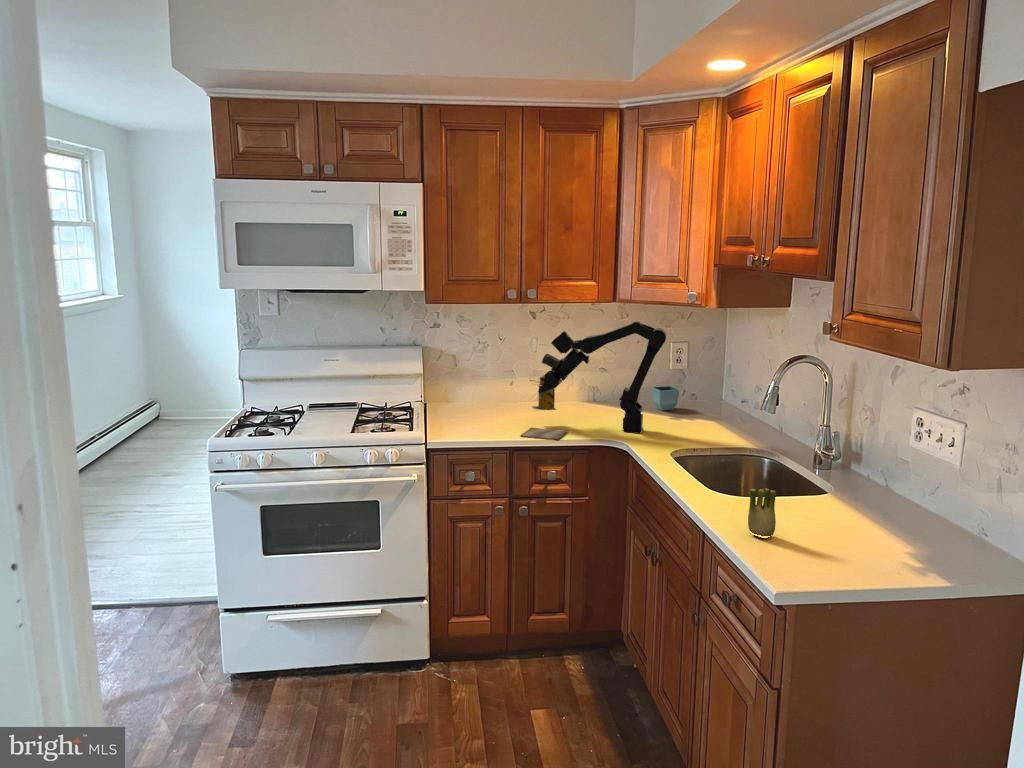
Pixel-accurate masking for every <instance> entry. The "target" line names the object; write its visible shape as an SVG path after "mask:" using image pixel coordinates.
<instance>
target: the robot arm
mask: <svg viewBox="0 0 1024 768" xmlns="http://www.w3.org/2000/svg"><path fill="white" fill-rule="evenodd" d="M634 334H636V335H639V336H640V337H642V338H644V339H646V340H648V342H647V346H646V350H645V353H644V356H643V358H642V360H641V362H640V365H639V367H638V369H637V370H636V373H635V376H634V378H633V380H632V383H631V385H630V386H629V387H626V386H625V387H624V388H623V391H622V395H620V397H619V406H620V408H621V410H623V412H624V417H623V418H622V432H623V431H628V432H627V433H632V432H638V433H637V434H641V433H642V432H643V431H644V428H643V427H644V425H643V423H644V422H643V421H644V420H643V419H644V414H643V413H642V411H643V410H644V409H643V406H642V405H641V404H640V403H639V402H638V400H639V396H640V391H641V388H642V387H643V384H644V381H645V379H646V377H647V376H648V375H647V374H648V373H649V370H650V368H651V366H652V363H653V362H654V360H655V357H656V355H657V354H658V352H659V351H660V350H661V348H662V347H663V345H664V344H665V343H666V340H667V337H668V336H667V332H666V331H665V329H663V328H660V327H657V328H655V327H652V326H650V325H648V324H644V323H642V322H641V321H637V320H636V321H633V322H632V323H629V324H627V325H624V326H621V327H619V328H615V329H613V330H611V331H610V330H609V331H607V332H605V333H600V334H594V335H589V336H585V337H584V338H583V339H578V340H573V338H572V337H571V336H569V334H568V332H566V331H565V330H563V331H562V332H561V333H560V334H559V335H557V336H556V337H555V338H554V339H553V340H552V341H551V343H550V344H551V345H552V346H553V347H554V348H555V349H556V350H557V352H558V353H560V354H564V355H565V356H564V357H563V358H560V359H559V358H557V357H555V356H553V355H551V354H549V353H545V354H544V356H543V358H542V360H541V363H542V364H543V365H546V366H548V367H550V370H549V371H547V372H545V374H543V376H544V377H545V381H544V383H543V384H542V386H541V387H540V389H539V388H538V389H537V392H538V394H539V393H542V392H545V391H547V390H550V389H553V388H555V389H556V388H557V387H558V386H560V384H561V383H563V381H565V380H566V379H568V376H569V375H570V374H571V373H572V372H573V371H575V370H576V368H577V367H579V366H580V365H581V364H582V363H583V362H584V363H585V364H587V365H588V364H589V363H590V355H589V354H592V353H594V352H595V351H597V350H599V349H600V348H602V347H604V346H605V345H607V344H610V343H612V342H615V341H618V340H621V339H623V338H626V337H629V336H632V335H634ZM570 350H571V351H570ZM579 350H580V351H579ZM569 351H570V352H569ZM568 352H569V353H568ZM642 430H643V431H642ZM641 431H642V432H641ZM640 432H641V433H640Z"/></svg>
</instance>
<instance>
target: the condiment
mask: <svg viewBox="0 0 1024 768" xmlns="http://www.w3.org/2000/svg"><path fill="white" fill-rule="evenodd" d="M544 381H545V377H544V375H543V376H540V377H539V384H538V390H539V389H540V387H541V386H542V384H543V383H544ZM555 390H556V388H553V389H550V390H547V391H545V392H542V393H539V392H538V405H537V406H536V405H531V408H532V410H534V411H557V410H558V409H557V408H556V407H555Z"/></svg>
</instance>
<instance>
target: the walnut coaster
mask: <svg viewBox="0 0 1024 768" xmlns="http://www.w3.org/2000/svg"><path fill="white" fill-rule="evenodd" d="M566 434H568V430H562V429H552V428H541V427H530V428H528V429H527V430H526V431H524V432H522V433H521V434H519V435H520V436H519V437H520V438H529V439H530V438H531V439H532V438H533V439H540V440H552V441H559V440H561V439H562V438H563V436H565V435H566Z"/></svg>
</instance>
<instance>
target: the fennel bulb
mask: <svg viewBox="0 0 1024 768" xmlns="http://www.w3.org/2000/svg"><path fill="white" fill-rule="evenodd" d="M756 491H757V490H756V489H755V488H751V489H750V491H749V496H750V497H749V506H748V507H749V508H748V514H747V515H748V516H747V526H748V530H749V532H750V531H751V532H752V533H754V534H757V535H761V536H771V535H772V536H773V535H774V533H775V531H776V526H777V525H776V523H777V522H776V520H777V519H776V511H775V507H776V506H775V504H776V496H777V491H776V490H773V489H769V488H768V487H767V488H765V489H761V488H760V489H758V492H757V493H756ZM756 496H757V497H756ZM772 536H771V537H772Z"/></svg>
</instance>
